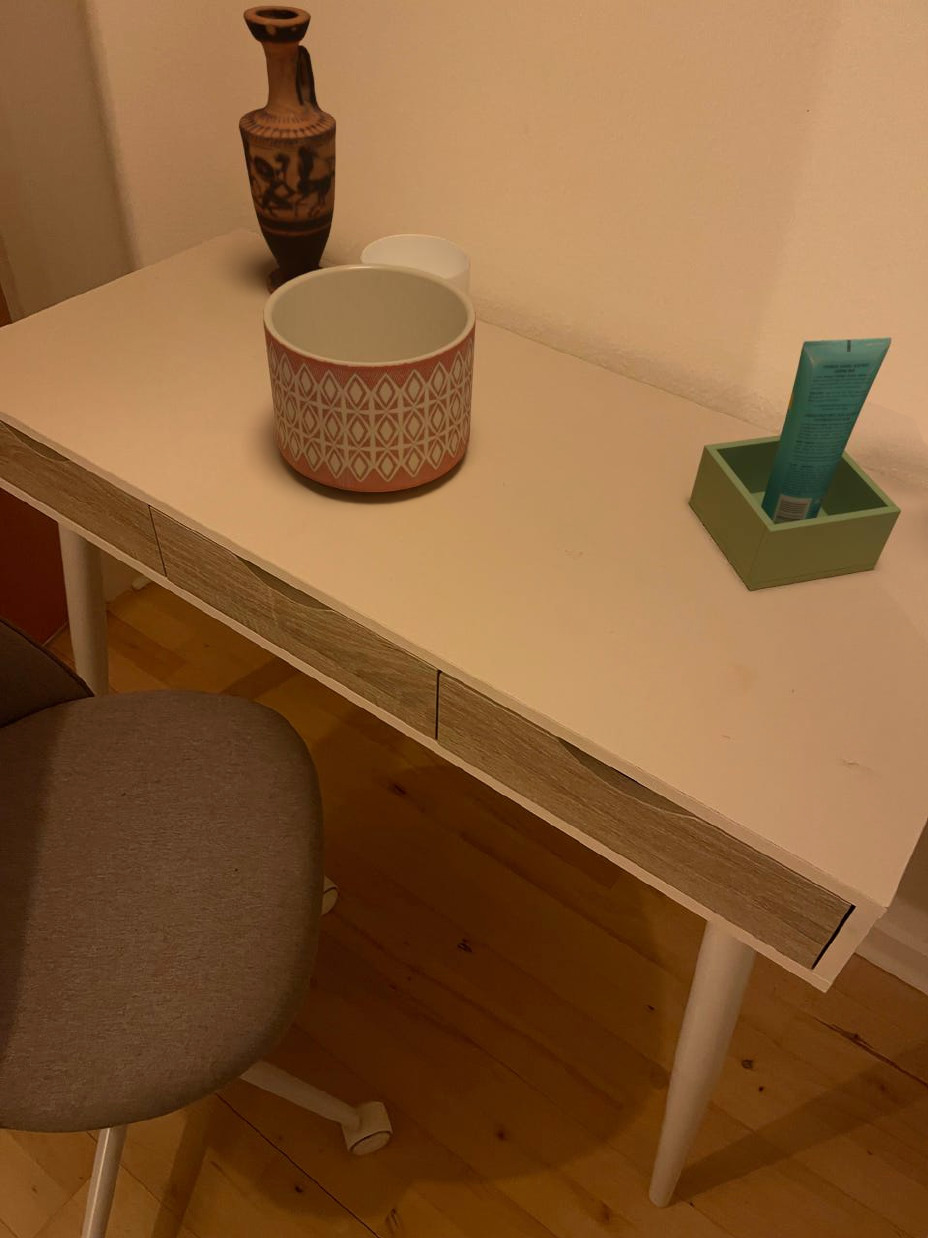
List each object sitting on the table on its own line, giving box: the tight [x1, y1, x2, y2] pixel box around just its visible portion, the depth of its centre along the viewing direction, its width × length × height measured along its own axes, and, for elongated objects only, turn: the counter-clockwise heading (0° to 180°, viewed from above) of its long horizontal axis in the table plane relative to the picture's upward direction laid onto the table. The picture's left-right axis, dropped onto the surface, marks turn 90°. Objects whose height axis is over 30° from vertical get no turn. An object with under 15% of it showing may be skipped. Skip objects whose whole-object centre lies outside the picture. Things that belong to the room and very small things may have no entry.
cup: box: [359, 233, 471, 298], centre depth 104 cm, size 12×12×12 cm
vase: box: [238, 5, 337, 294], centre depth 109 cm, size 11×11×30 cm
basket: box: [688, 434, 902, 591], centre depth 86 cm, size 13×13×7 cm
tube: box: [761, 336, 892, 524], centre depth 81 cm, size 7×5×19 cm, turn 104°
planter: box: [262, 263, 477, 493], centre depth 90 cm, size 19×19×15 cm
